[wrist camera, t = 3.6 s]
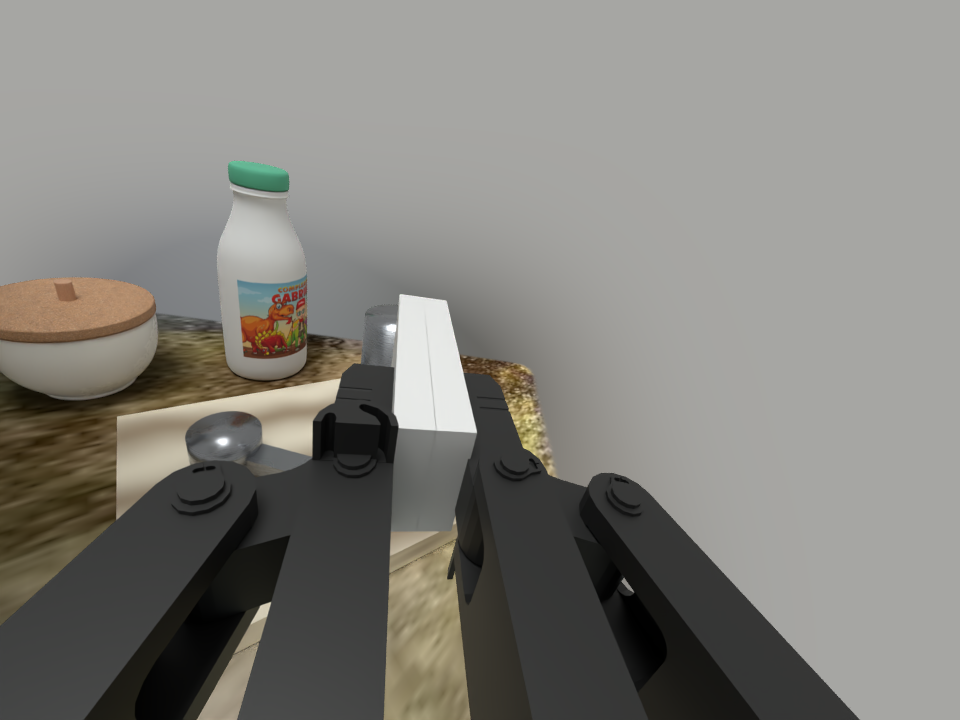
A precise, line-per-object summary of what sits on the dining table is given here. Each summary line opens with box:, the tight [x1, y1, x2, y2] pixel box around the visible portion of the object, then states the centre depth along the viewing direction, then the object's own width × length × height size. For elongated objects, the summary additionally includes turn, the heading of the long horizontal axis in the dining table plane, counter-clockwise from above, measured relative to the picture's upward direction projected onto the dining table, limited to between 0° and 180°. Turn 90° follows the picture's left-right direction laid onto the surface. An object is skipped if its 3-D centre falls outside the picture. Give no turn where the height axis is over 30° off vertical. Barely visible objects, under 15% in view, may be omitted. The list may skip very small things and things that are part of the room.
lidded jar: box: [0, 278, 158, 400], centre depth 33 cm, size 11×11×9 cm
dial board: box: [116, 379, 458, 655], centre depth 31 cm, size 20×24×2 cm
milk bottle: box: [217, 161, 307, 380], centre depth 38 cm, size 8×8×20 cm
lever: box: [185, 305, 399, 476], centre depth 24 cm, size 16×4×14 cm, turn 81°
